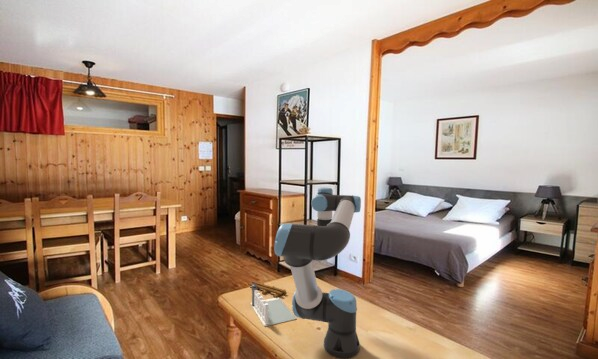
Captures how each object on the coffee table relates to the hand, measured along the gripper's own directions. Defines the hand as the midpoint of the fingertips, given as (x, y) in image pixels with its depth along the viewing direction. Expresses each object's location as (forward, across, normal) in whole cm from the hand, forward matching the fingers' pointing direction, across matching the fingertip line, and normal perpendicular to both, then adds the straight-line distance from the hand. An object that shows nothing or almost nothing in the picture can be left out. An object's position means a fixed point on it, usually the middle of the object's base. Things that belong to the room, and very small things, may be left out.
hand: (323, 263), depth 152 cm
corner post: (+26, +18, -33) cm, 46 cm away
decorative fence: (+26, +1, -41) cm, 49 cm away
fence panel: (+25, +22, -22) cm, 41 cm away
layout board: (+26, +15, -22) cm, 37 cm away
